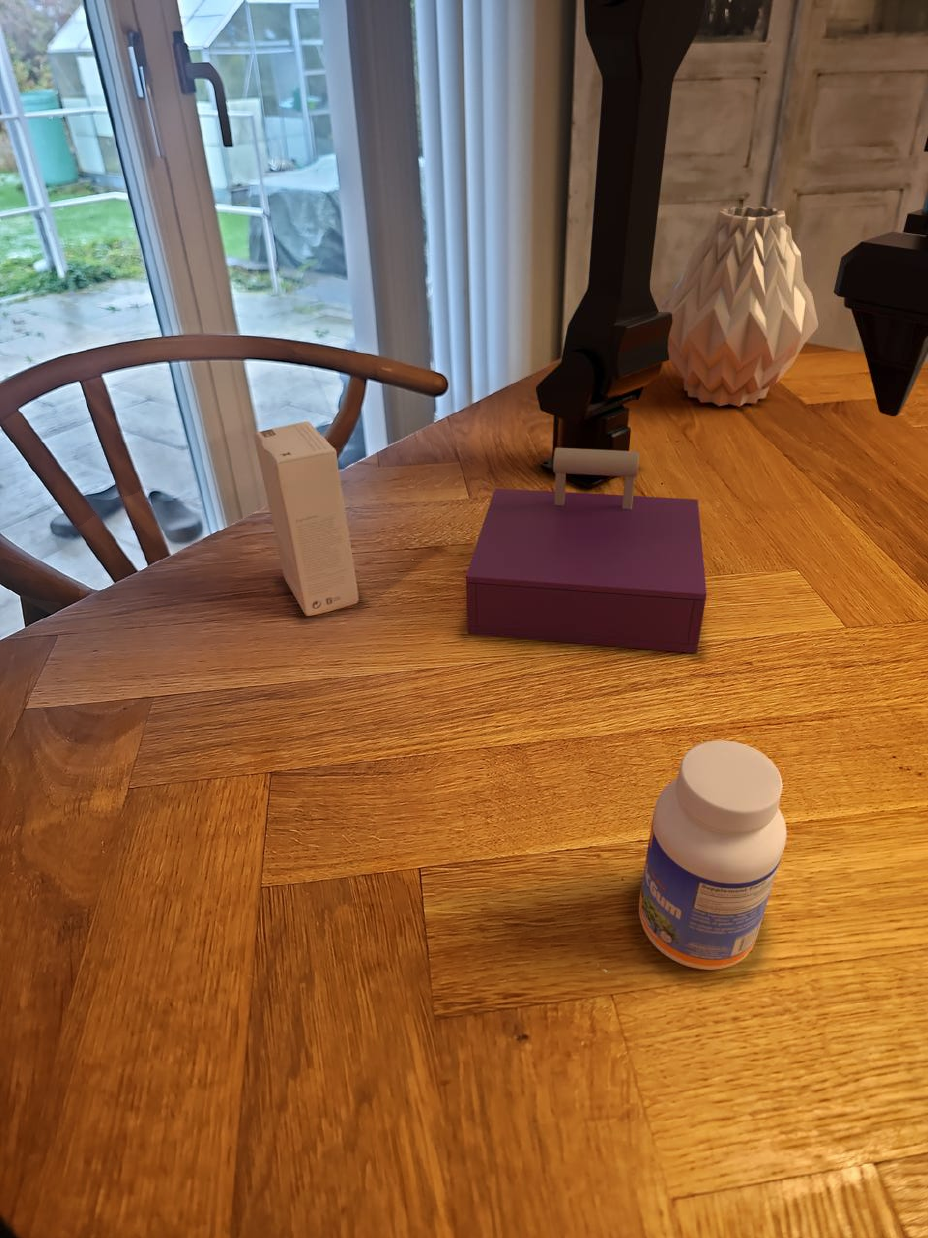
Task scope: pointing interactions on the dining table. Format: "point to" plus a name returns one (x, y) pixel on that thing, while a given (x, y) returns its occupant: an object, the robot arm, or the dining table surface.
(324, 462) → the cosmetic box
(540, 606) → the case
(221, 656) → the dining table surface
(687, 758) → the pill bottle
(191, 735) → the dining table surface
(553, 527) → the case cover
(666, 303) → the vase
